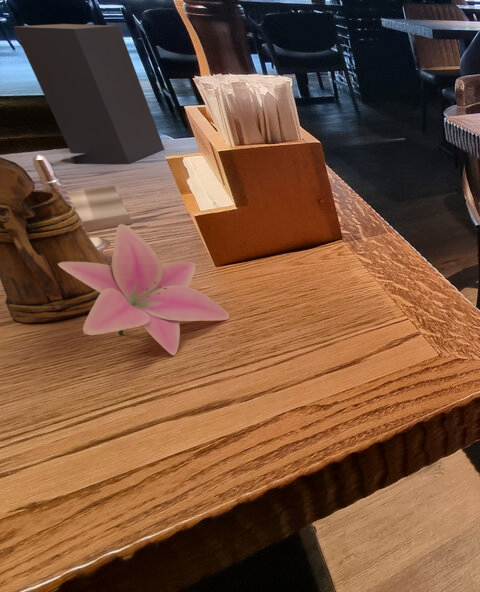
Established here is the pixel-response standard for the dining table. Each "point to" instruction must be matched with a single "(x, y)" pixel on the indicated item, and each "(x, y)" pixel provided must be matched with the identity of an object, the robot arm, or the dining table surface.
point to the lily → (143, 292)
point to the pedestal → (92, 91)
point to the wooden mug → (41, 251)
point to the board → (99, 208)
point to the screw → (61, 192)
